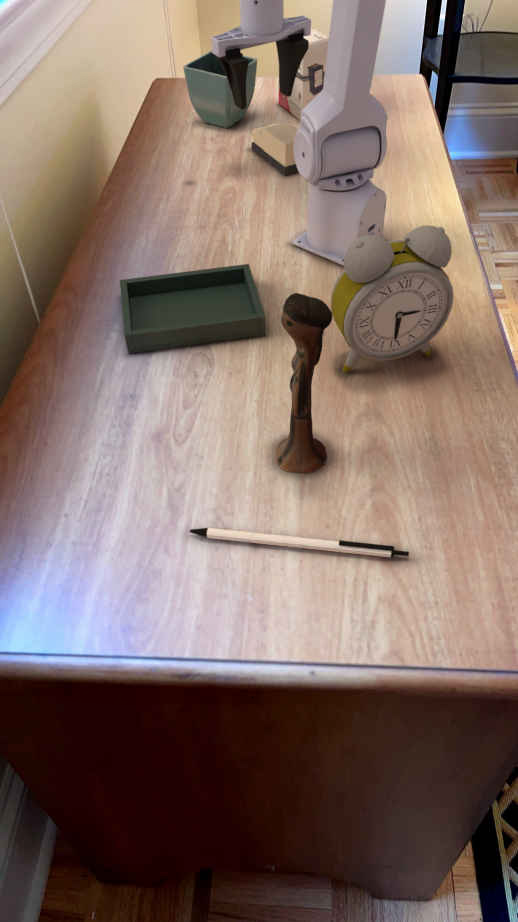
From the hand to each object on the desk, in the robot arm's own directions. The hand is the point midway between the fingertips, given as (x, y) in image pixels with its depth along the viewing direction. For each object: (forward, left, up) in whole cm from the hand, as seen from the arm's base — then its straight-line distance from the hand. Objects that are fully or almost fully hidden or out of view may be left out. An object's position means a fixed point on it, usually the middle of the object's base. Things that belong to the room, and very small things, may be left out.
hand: (263, 100), depth 99 cm
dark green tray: (-17, +35, -9) cm, 40 cm away
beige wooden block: (-1, -2, -9) cm, 9 cm away
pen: (-47, +53, -9) cm, 71 cm away
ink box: (+7, -18, -9) cm, 22 cm away
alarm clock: (-38, +27, -9) cm, 48 cm away
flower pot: (+15, -7, -9) cm, 19 cm away
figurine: (-40, +44, -9) cm, 60 cm away
